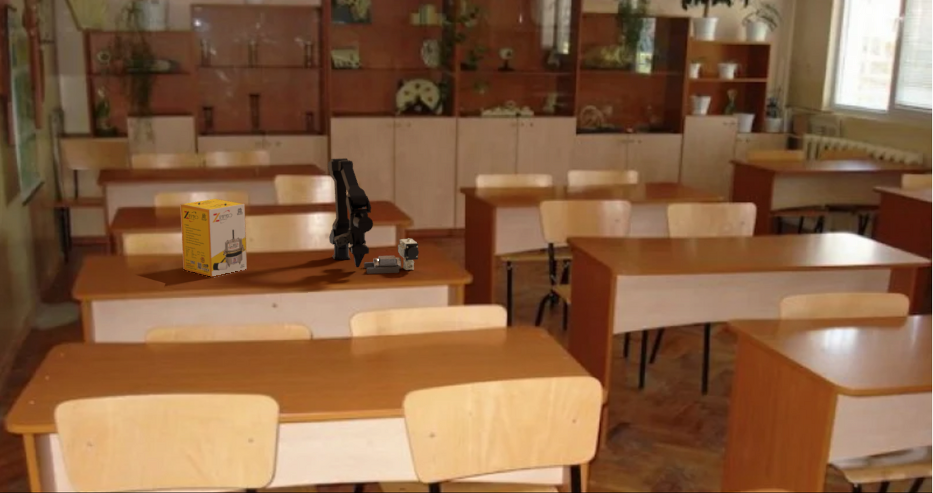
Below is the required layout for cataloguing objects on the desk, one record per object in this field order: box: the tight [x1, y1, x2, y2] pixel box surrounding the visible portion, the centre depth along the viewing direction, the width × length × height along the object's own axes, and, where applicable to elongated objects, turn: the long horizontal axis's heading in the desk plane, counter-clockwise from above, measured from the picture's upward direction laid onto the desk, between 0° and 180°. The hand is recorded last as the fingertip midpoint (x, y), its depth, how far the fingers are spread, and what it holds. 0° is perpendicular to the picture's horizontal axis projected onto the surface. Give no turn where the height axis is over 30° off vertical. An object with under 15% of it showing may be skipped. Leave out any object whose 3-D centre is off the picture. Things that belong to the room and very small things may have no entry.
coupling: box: [372, 255, 402, 270], centre depth 340 cm, size 5×10×5 cm, turn 103°
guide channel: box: [363, 261, 400, 275], centre depth 339 cm, size 9×12×2 cm
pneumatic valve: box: [397, 237, 420, 271], centre depth 341 cm, size 6×12×12 cm, turn 20°
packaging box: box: [179, 198, 248, 276], centre depth 331 cm, size 16×16×25 cm
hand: (357, 267), depth 337 cm, fingers closed
